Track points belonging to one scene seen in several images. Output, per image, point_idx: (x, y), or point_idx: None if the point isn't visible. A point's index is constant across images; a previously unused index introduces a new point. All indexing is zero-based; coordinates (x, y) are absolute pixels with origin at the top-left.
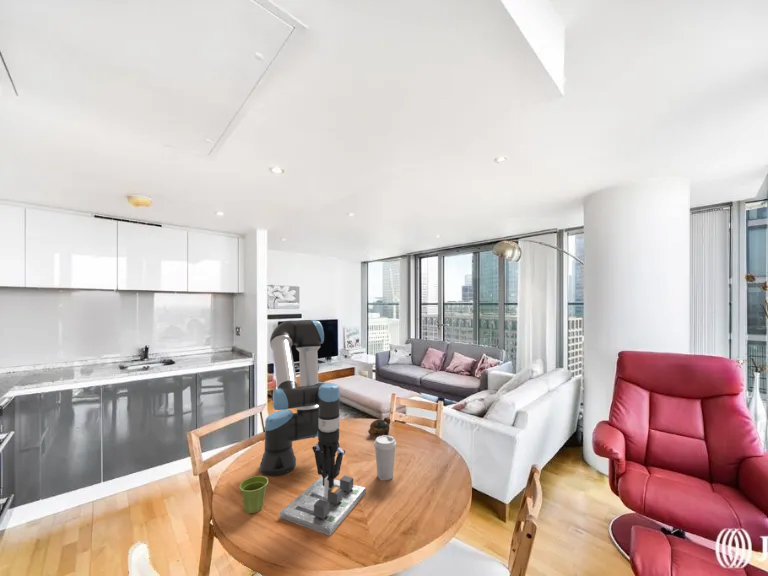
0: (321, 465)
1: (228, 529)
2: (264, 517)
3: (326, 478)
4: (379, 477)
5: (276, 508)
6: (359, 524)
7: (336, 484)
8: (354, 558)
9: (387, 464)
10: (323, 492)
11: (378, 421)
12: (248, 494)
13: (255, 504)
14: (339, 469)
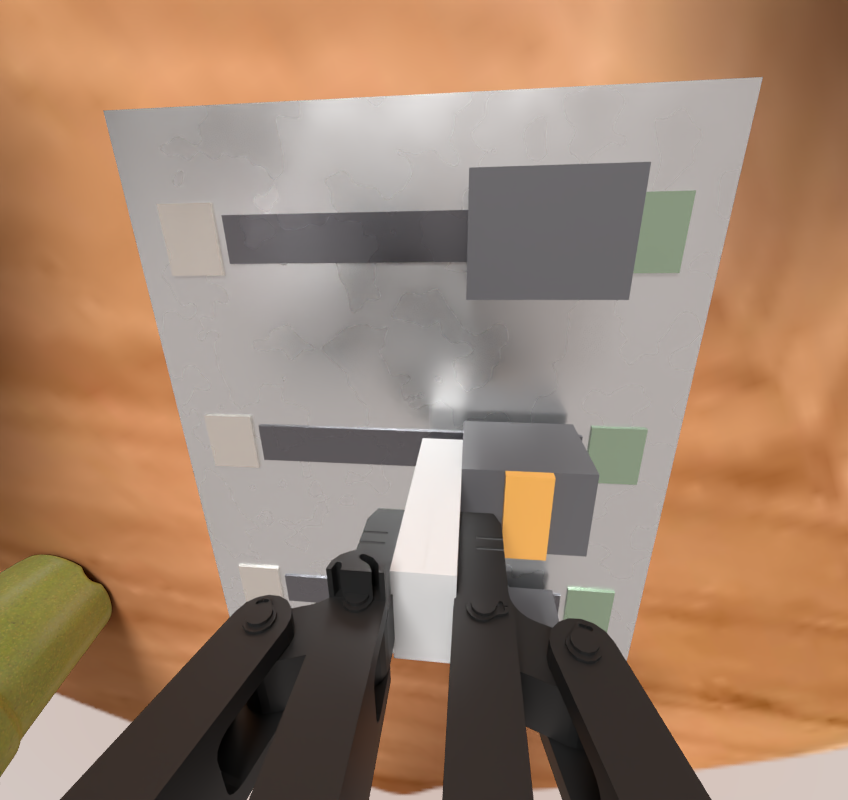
0: (214, 787)
1: (127, 710)
2: (181, 624)
3: (420, 651)
4: None
5: (166, 557)
6: (778, 514)
7: (368, 196)
8: (814, 712)
9: None
10: (338, 377)
11: None
12: None
13: (73, 666)
14: (690, 791)
